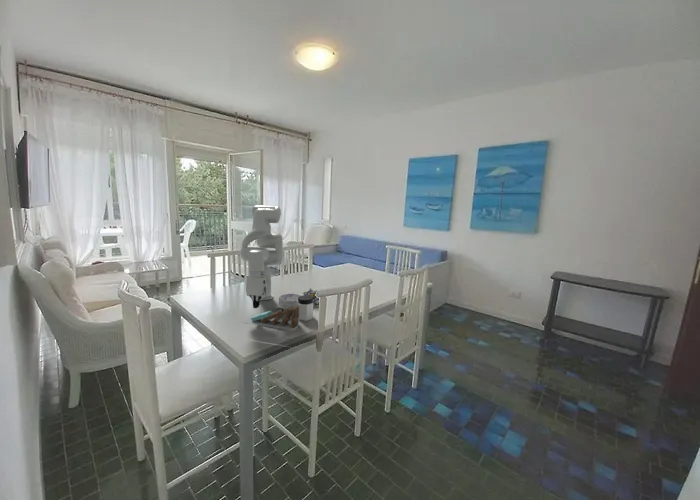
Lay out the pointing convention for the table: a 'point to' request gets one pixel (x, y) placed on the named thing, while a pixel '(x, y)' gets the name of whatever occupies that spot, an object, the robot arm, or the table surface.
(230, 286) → the table surface
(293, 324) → the tile
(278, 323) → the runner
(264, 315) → the tile
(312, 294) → the passion flower
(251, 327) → the table surface
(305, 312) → the jar
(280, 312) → the tile
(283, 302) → the paper bowls
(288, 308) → the tile
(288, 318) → the tile
